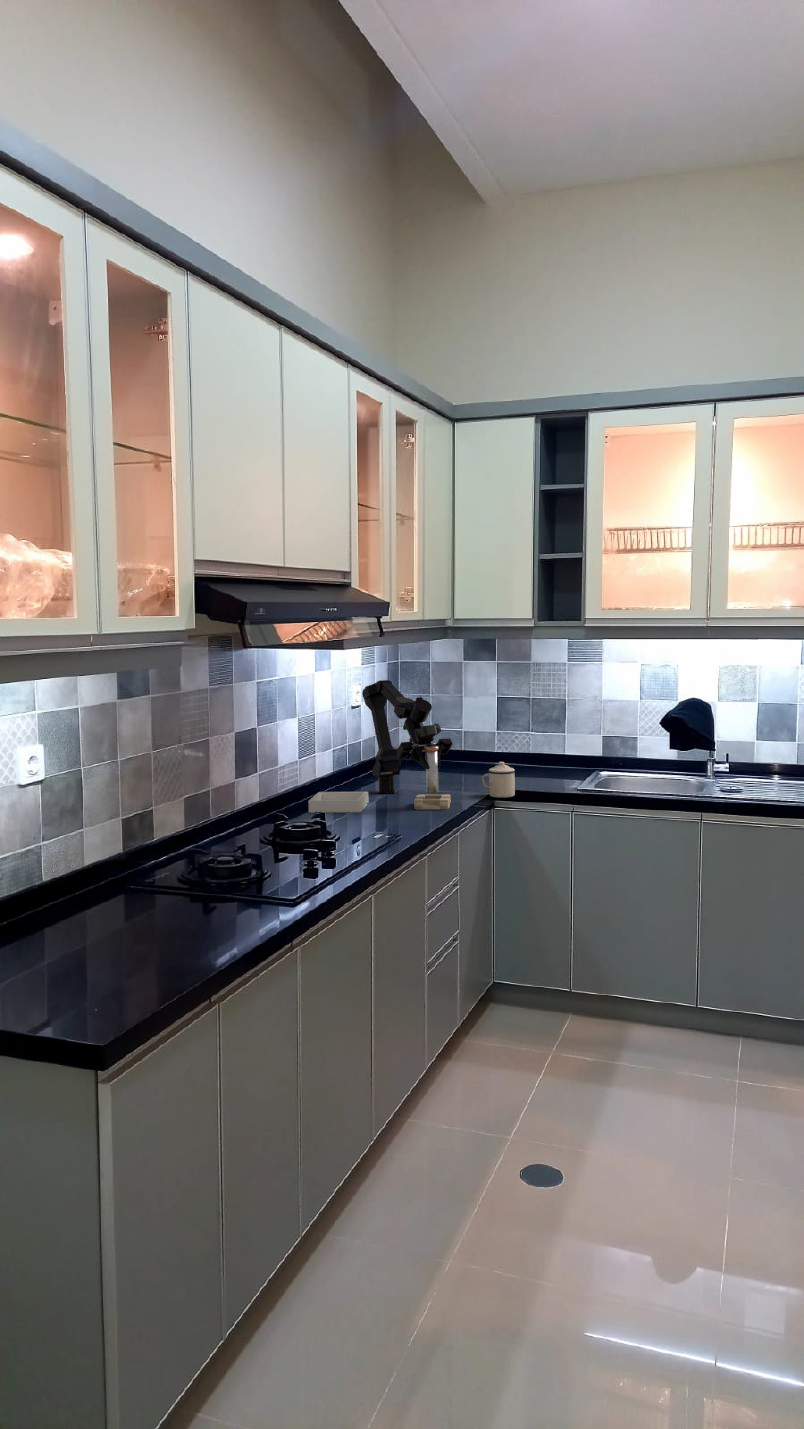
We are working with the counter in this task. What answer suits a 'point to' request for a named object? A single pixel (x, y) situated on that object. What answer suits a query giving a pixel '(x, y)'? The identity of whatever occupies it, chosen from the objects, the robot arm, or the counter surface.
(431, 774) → the metal pin
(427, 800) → the block
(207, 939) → the counter surface
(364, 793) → the tray
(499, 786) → the teacup with lid
